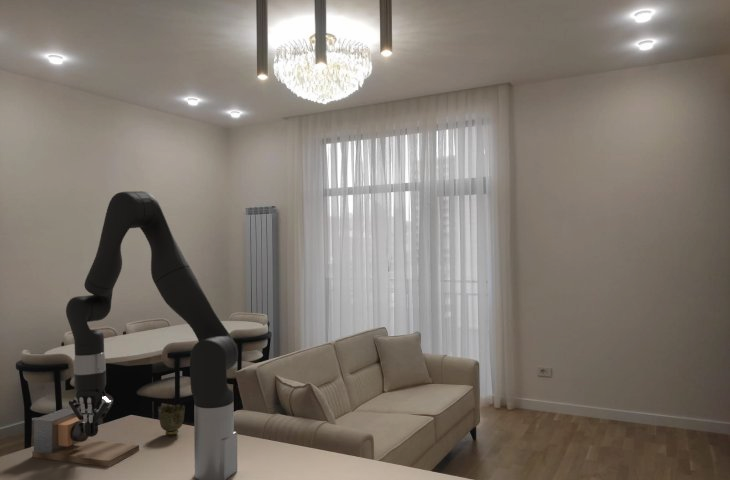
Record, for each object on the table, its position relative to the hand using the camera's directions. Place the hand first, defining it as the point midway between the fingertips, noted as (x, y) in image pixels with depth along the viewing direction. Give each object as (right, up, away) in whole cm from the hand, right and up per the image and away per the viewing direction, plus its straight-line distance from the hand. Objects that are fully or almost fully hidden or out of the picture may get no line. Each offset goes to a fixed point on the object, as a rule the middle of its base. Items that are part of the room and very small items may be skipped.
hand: (91, 435), depth 143 cm
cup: (+16, -6, +15) cm, 23 cm away
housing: (-11, -4, +3) cm, 12 cm away
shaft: (-8, -2, +2) cm, 9 cm away
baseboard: (-2, -5, +1) cm, 6 cm away
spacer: (-6, -2, +2) cm, 7 cm away
